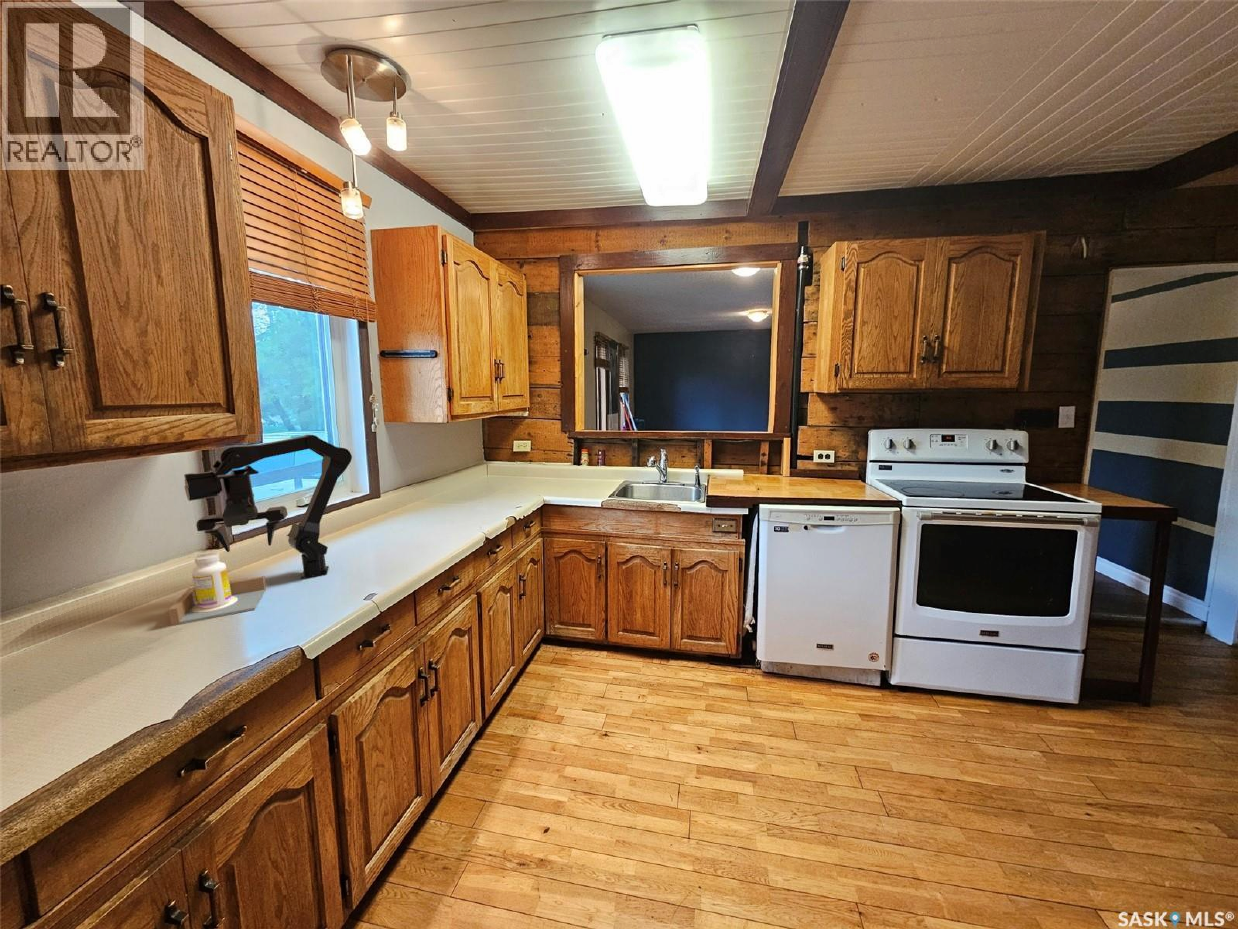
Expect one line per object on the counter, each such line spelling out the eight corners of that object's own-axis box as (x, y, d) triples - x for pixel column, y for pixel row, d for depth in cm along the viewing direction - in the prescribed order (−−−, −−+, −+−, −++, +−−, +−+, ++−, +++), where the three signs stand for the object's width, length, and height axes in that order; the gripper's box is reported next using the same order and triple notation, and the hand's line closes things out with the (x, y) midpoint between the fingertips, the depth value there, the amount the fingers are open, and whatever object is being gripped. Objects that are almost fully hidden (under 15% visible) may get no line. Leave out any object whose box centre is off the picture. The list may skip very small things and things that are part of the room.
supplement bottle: (225, 596, 126) (217, 549, 124) (237, 601, 123) (228, 553, 121) (193, 606, 120) (184, 557, 118) (204, 612, 117) (195, 562, 115)
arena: (191, 602, 125) (188, 588, 124) (266, 589, 132) (263, 575, 131) (171, 625, 112) (168, 609, 112) (255, 609, 119) (252, 594, 119)
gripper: (182, 504, 116) (195, 565, 119) (274, 493, 124) (284, 550, 127) (198, 495, 126) (210, 551, 129) (283, 486, 134) (292, 539, 137)
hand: (249, 548), depth 130 cm, fingers open, 9 cm apart
